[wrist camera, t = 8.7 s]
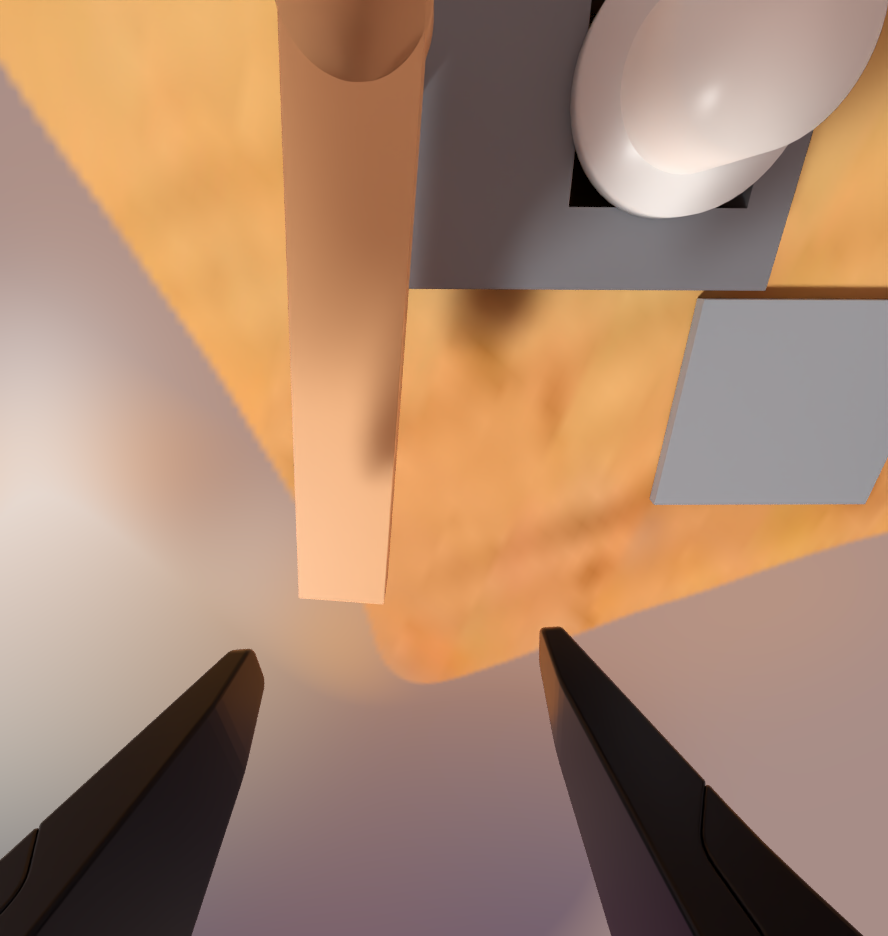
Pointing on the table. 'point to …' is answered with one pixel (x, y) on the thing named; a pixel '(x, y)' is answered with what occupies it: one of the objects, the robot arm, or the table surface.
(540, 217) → the socket base
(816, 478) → the mat
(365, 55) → the light orange flat bar
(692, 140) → the plug
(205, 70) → the table surface
